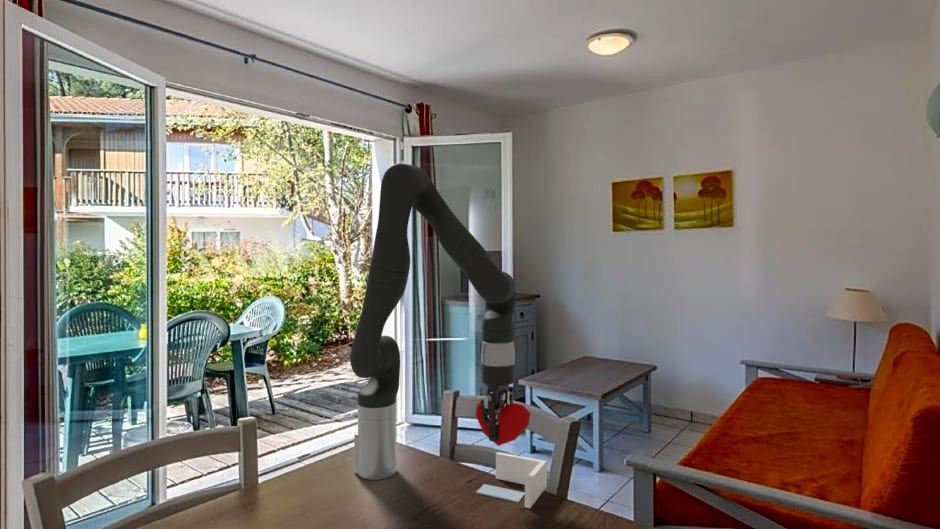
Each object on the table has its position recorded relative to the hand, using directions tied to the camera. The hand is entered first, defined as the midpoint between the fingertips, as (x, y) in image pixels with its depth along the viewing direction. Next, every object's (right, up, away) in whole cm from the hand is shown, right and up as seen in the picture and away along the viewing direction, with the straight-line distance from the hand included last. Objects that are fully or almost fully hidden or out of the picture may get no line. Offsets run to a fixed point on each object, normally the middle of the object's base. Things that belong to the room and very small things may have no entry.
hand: (498, 437), depth 117 cm
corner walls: (+3, -13, +1) cm, 13 cm away
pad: (0, -13, 0) cm, 13 cm away
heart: (0, -2, 0) cm, 2 cm away
